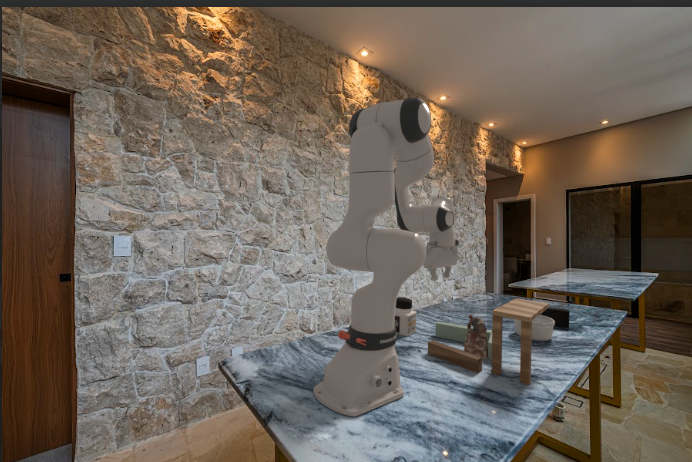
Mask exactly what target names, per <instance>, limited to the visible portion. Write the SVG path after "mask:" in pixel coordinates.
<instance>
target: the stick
mask: <svg viewBox="0 0 692 462" xmlns="http://www.w3.org/2000/svg"><path fill="white" fill-rule="evenodd" d="M427 355H429V356H432V357H435V358H437V359H439V360H441V361H444V362H447V363H449V364H452V365H456V366H457V367H460V368H463V369H466V370H467V371H470V372H473V373H476V374H480V373H481V372H482V371H483V359H482V357H480V356H477V355H474V354H471V353H468V352H466V351H464V349H459V348H456V347H454V346H451V345H448V344H444V343H441V342H439V341H435V340H430V341H427Z"/></svg>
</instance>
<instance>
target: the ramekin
mask: <svg viewBox="0 0 692 462" xmlns="http://www.w3.org/2000/svg"><path fill="white" fill-rule="evenodd" d="M513 323H514V331H515V333H517V335H518V336H519V337H521V320H516V319H513ZM554 325H555V321H554V320H553V319H551V318H549V317H546V316H542V315H539V316H537V317H536V318H535V319H534V320H532V340H533V341H538V342H546V341H550V340H551V338H553V334H554V333H553V332H554V327H555V326H554Z"/></svg>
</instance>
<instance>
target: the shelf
mask: <svg viewBox="0 0 692 462" xmlns="http://www.w3.org/2000/svg"><path fill="white" fill-rule="evenodd" d="M549 305H550V304H549V303H548V302H543V301H536V300H529V299H523V298H517V297H516V298H514V299H511V300H510V301H508V302H506V303H504V304H503V305H501V306H499V307H496V308H495V309H493V310H492V315H491V316H492V317H491V318H492V320H491V322H492V325H491V328H492V329H491V331H492V359H491V369H490V371H491V372H490V373H491V374H494V375H496V376H500V375H502V371H503V370H502V369H503V326H504V325H503V323H504V319H503V318H507V319H512V320H514V319H516V320H521V336H520V353H519V354H520V357H519V358H520V361H519V363H520V365H519V368H520V369H519V383H521V384H524V385H527V386H530V384H531V383H532V349H533V348H532V345H533V344H532V343H533V342H532V320H534V319H535V318H536V317H537V316H539V315H540V314H541V313H542V312H544V311H545V310H546V309H547V308H549V307H550V306H549Z"/></svg>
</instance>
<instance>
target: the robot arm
mask: <svg viewBox="0 0 692 462" xmlns="http://www.w3.org/2000/svg"><path fill="white" fill-rule="evenodd" d="M431 126H432V116H431V110H430V108H429V105H428V104H427V103H426V102H425V100H424V99H422V98H420V97H407V98H405V99H400V100H399V99H398V100H393V101H392V100H391V101H387V102H385V101H384V102H381V103H377V104H374V105H371V106H369V107H365V108H364V107H363V108H361V109H359V110H357V111H356V112H354V113H353V114H352V115H351V118H350V120H349V123H348V134H349V137H350V144H349V145H350V146H349V155H348V156H349V157H348V178H349V179H348V180H349V182H348V184H349V185H348V186H349V187H348V188H349V191H348V192H349V193H348V195H349V196H348V199H349V200H348V207H347V211H346V215H345V217H344V219H343V220H342V223H341V224H340V225H339V227H337V229H336V230H334V231H333V232H332V233H331V234H330V235H329V237H328V240H327V242H326V246H325V247H326V248H325V251H326V256H327V259H328V260H329V262H330V264H331V265H332V266H334V267H337V268H341V269H344V270H347V271H356V272H368V273H369V272H370V273H373V276H372V277H373V279H372V281H371V283H369V284H368V283H367V284H366V285H363V286H362V287H359V288H358V289H357V290H355V292H354V293H353V295H352V296H351V299H350V301H351V305H350V307H351V308H350V309H351V310H350V324H349V327H348V329H347V331H345V330H343V329H341V330H339V331H338V333H337V334H338V335H337V337H338V338H339V339H340V340H344V341H345V343H344V344H343V345H342V347H341V348H340V349H339V350H338V351H337V353H335V355H334V356H333V357H332V358H331V360H330V361H329V362H328V363H327V364H326V366H325V369H324V374H323V380H322V381H321V382H319V383H318V384H316V385H315V386H314V387H313V391H312V392H313V396H314V398H315V399H317V401H318V402H319V403H321V404H323V406H325V407H327V408H328V409H330V410H332V411H334V412H336V413H339V414H341V415H345V416H348V417H358V416H360V415H363V414H365V413H368V412H370V411H372V410H374V409H376V408H379V407H381V406H384V405H386V404H389V403H391V402H394V401H396V400H398V399H400V398H403V397H404V395H405V392H404V391H405V390H404V388H403V387H402V386H401V375H400V374H401V372H400V360H399V356H398V353H397V350H396V346H395V345H396V344H397V335H398V334H397V333H396V327H395V326H394V325H395V307H396V299H397V298H398V295H399V292H400V289H401V288H402V287H403V284H404V283H405V282H406V281H407V280H408V279H409V278H410V277H411V276H412V275H414V274H415V273H417V272H418V271H420V269H421V268H422V267H423V268H424V269H429V270H428V271H429V274H430V280H431V281H432V282H433V281H434V282H435V281H438V279H439V278H438V277H439V276H438V275H437V269H440V268H444V272H443V278H444V279H448V278H450V275H451V270H452V266H456V265H457V264H458V260H459V248H458V247H460V241H459V239H457V238H456V237H455V230H454V225H455V220H456V219H455V206H454V201H453V199H452V198H451V197H448V196H447V197H446V196H436V197H434V198H432V199H431V203H430V204H426V205H423V204H422V205H421V204H420V205H418V204H417V205H415V204H412V203H410V197H409V196H410V195H409V188H408V187H409V186H410V185H412V184H414V183H416V182H419V181H421V180H422V179H423V178H425V177H426V176H428V174H429V173H431V170H432V169H433V166H434V163H435V155H434V150H433V147H432V143H431V140H430V135H429V133H430V130H431ZM394 159H395V162H394ZM395 163H396V164H395ZM394 204H395V210H396V224H397V227H398V228H399V229H398V228H374V221H375V219H376V217H379V216H380V215H382V214H384V213H386V212H387V211H389V210H391V208H392V207H393V205H394ZM419 233H424V234H425V233H428V243H427V245H426V244H425V240H424V239H423V238H422V236H421V235H420V234H419Z"/></svg>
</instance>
